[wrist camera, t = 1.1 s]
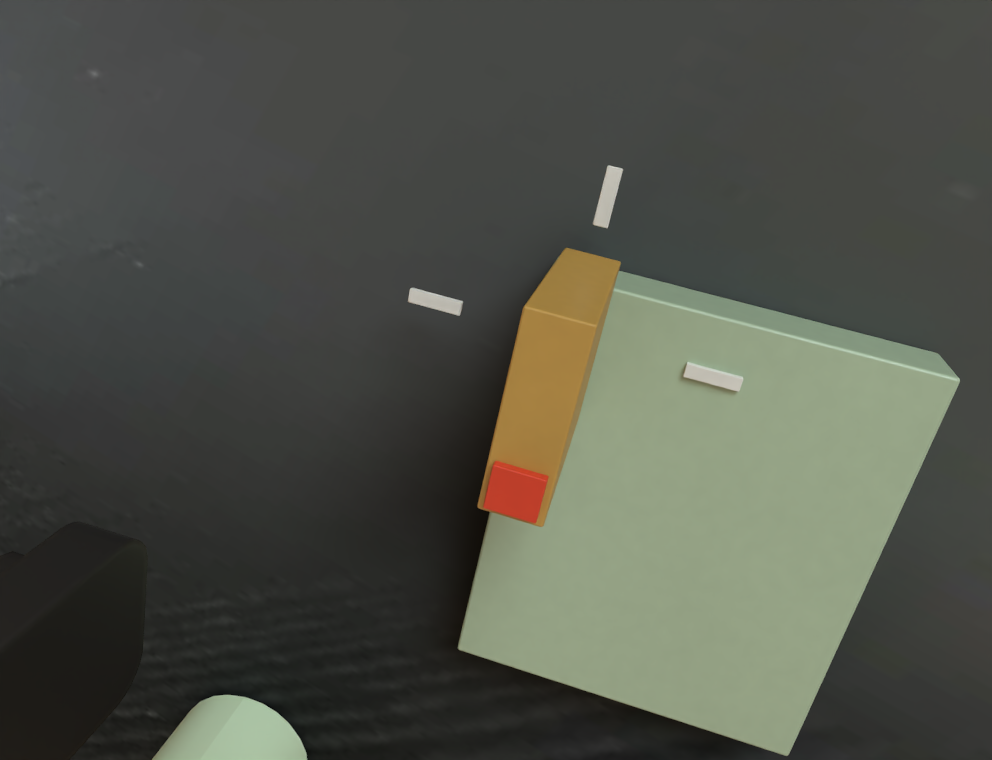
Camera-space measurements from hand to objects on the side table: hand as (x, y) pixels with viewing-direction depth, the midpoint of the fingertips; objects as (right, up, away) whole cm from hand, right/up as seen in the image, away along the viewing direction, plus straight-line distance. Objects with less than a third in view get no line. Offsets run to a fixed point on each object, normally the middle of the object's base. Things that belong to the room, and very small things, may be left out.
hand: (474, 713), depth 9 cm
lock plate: (+4, +2, +15) cm, 16 cm away
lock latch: (+2, +5, +12) cm, 13 cm away
